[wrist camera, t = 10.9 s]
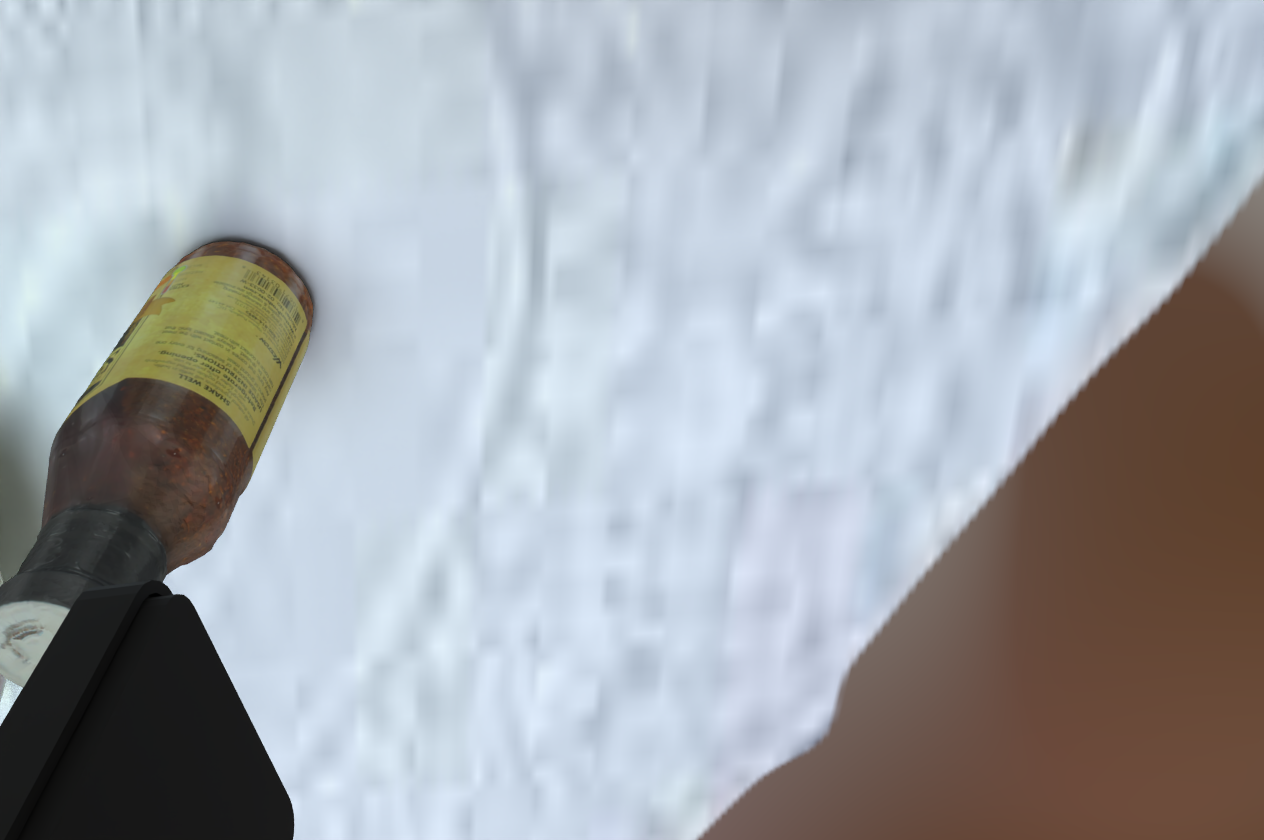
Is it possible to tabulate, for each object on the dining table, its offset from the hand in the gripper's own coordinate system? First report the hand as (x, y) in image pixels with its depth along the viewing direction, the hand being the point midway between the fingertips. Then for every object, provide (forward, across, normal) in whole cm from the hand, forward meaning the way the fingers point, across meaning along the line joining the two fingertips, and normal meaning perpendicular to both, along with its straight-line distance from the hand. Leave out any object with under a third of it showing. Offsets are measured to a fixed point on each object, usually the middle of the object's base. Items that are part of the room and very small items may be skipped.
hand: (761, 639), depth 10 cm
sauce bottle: (+36, +20, +13) cm, 44 cm away
